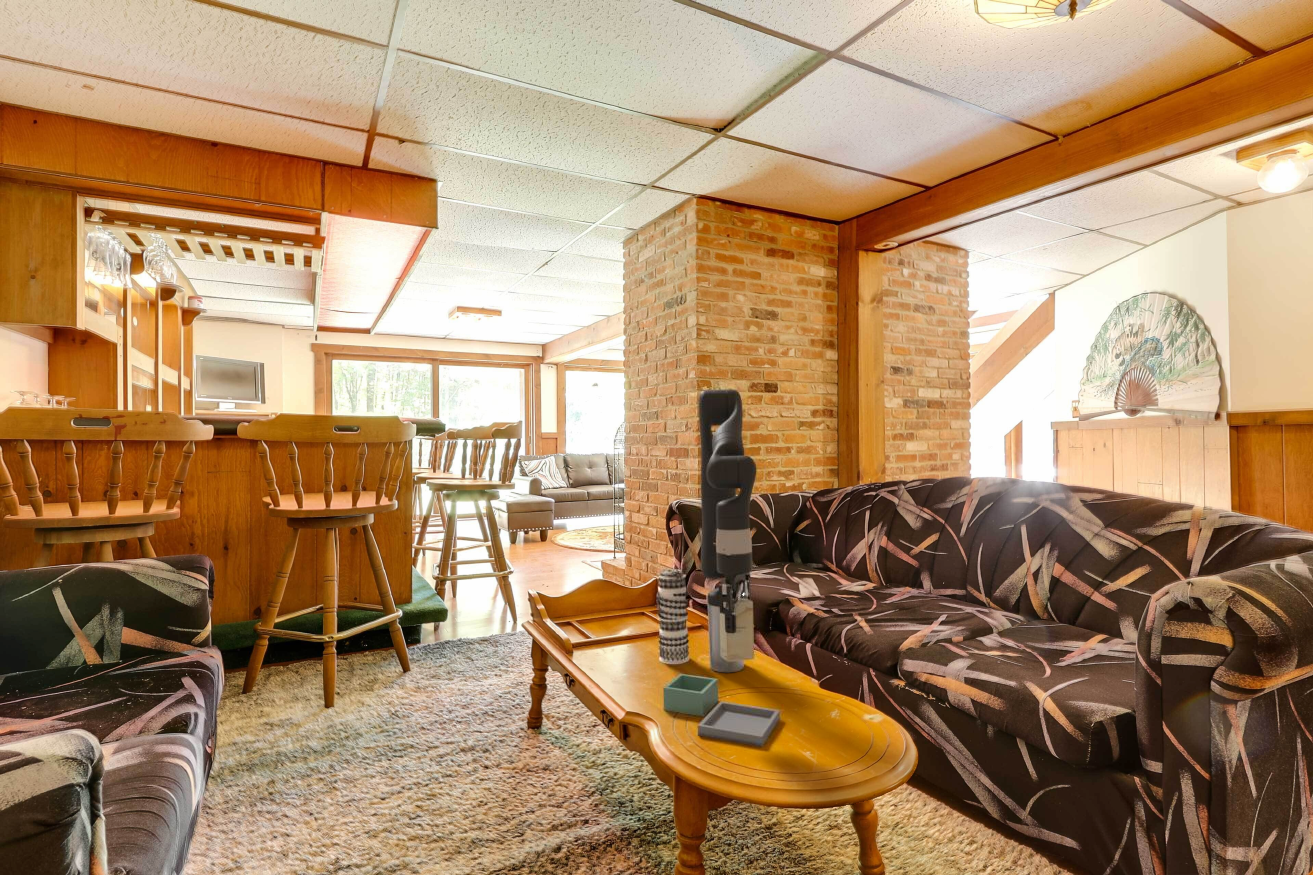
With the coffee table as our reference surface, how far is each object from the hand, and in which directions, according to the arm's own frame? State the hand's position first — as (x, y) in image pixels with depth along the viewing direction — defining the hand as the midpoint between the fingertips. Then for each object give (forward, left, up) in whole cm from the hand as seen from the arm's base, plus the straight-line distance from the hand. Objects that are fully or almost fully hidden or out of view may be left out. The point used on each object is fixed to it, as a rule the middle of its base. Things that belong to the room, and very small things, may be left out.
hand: (736, 627), depth 133 cm
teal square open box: (-7, -14, -21) cm, 26 cm away
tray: (0, 0, -21) cm, 21 cm away
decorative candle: (-35, -31, -21) cm, 51 cm away
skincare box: (0, 0, -7) cm, 7 cm away
